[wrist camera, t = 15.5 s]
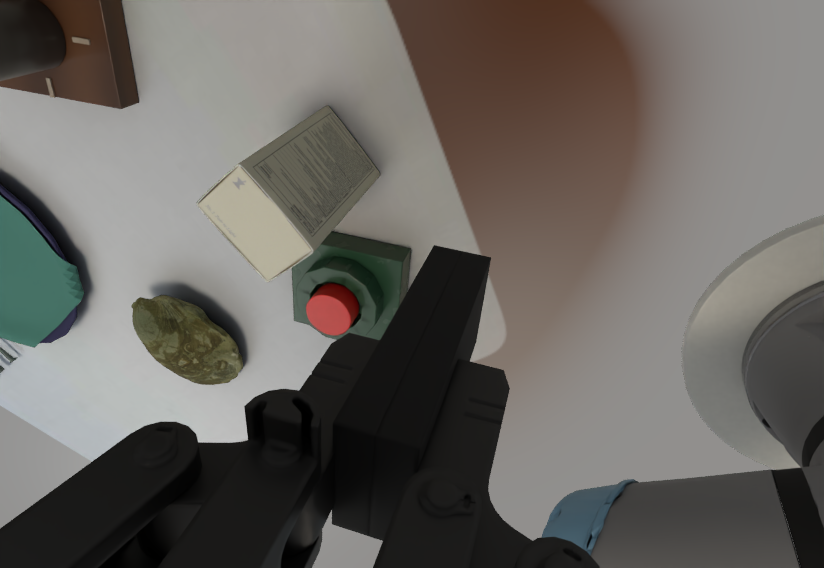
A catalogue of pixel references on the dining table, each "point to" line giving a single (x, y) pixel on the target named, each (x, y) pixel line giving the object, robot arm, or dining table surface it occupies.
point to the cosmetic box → (290, 193)
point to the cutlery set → (33, 279)
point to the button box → (355, 280)
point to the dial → (28, 38)
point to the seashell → (186, 340)
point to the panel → (87, 56)
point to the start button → (332, 309)
